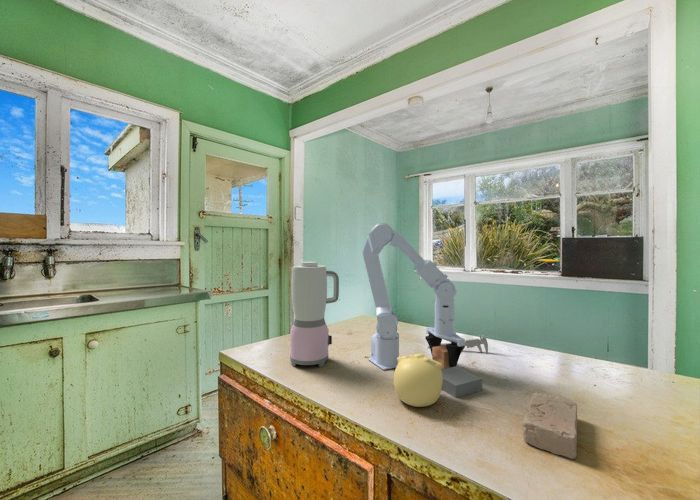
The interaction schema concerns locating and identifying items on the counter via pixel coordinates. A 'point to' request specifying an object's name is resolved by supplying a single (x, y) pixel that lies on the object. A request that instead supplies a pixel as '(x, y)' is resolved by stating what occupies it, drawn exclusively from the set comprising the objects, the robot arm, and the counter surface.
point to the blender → (310, 313)
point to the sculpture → (418, 380)
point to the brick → (552, 425)
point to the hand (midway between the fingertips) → (444, 362)
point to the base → (460, 382)
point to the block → (441, 356)
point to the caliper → (474, 343)
